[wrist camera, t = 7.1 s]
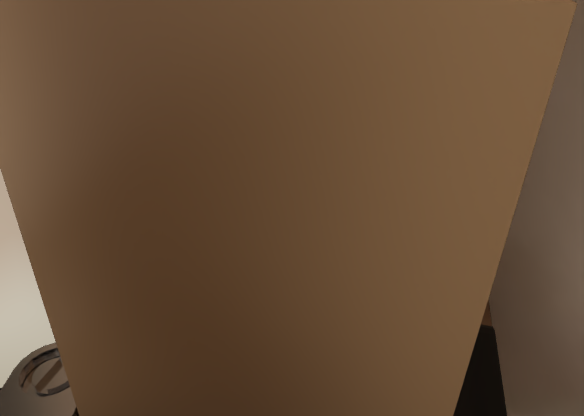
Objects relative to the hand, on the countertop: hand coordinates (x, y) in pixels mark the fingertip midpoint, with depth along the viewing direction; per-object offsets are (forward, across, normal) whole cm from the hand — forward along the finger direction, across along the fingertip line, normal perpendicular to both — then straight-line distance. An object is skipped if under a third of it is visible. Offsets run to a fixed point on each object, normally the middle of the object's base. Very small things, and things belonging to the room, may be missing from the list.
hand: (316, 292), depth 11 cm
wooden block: (+1, 0, 0) cm, 1 cm away
